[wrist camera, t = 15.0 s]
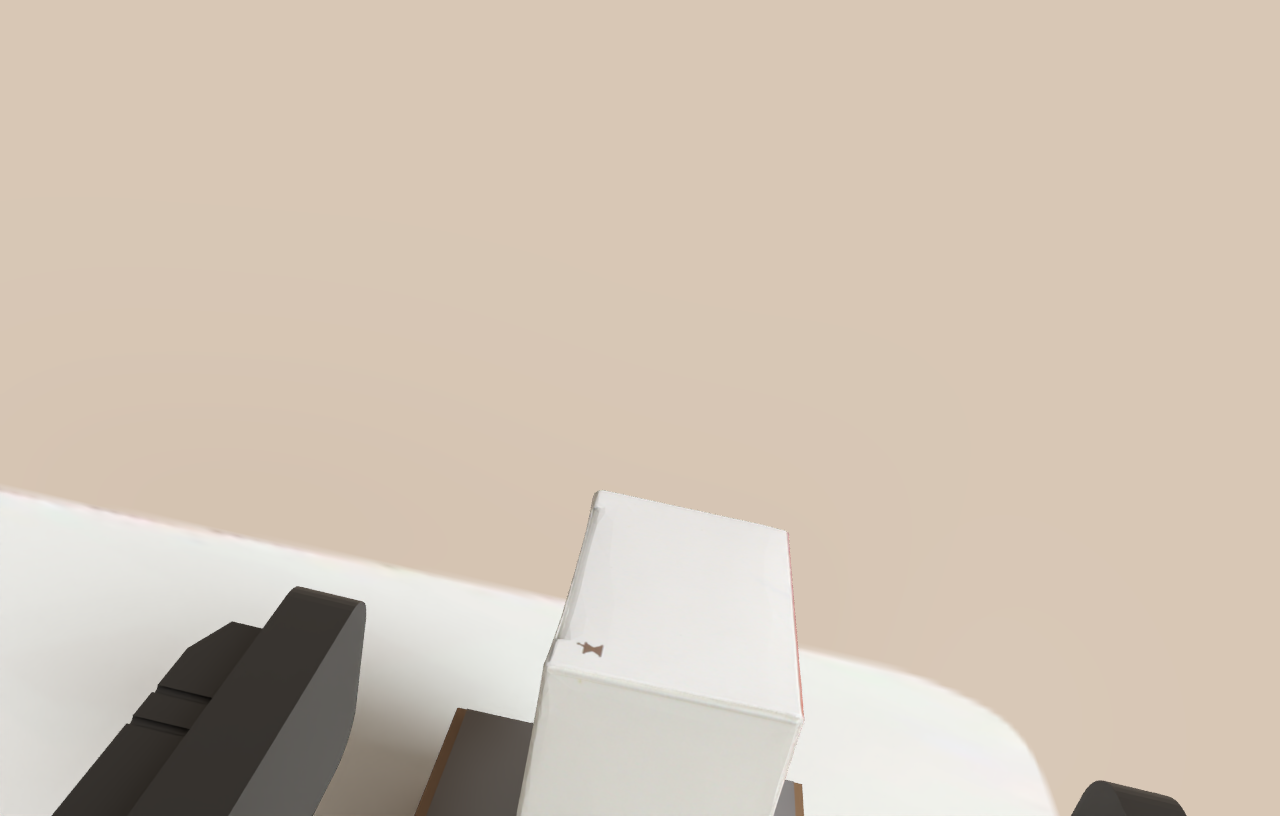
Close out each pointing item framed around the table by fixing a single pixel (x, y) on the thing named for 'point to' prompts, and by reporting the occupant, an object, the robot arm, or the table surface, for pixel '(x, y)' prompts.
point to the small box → (668, 670)
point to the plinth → (504, 770)
